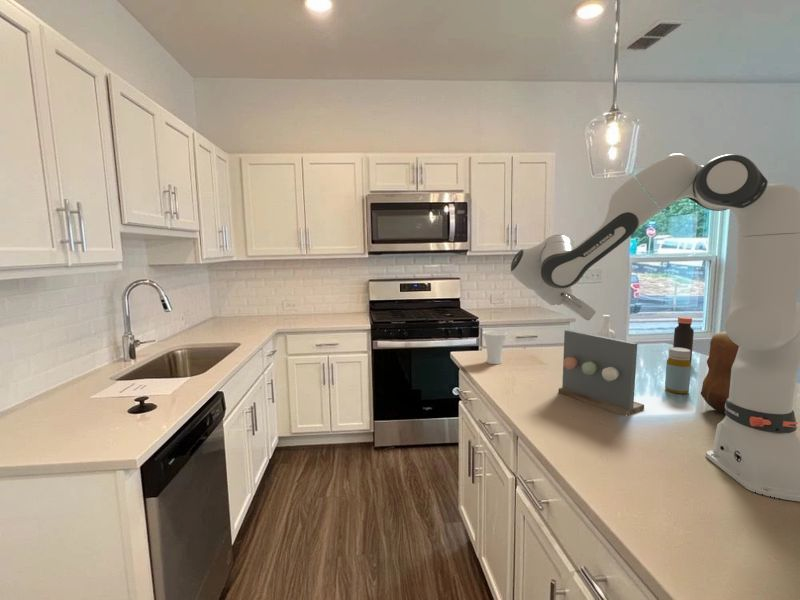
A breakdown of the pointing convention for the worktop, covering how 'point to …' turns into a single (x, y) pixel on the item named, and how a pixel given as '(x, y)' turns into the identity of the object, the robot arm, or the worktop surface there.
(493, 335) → the cup
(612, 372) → the cream button
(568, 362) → the terracotta button
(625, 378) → the button panel
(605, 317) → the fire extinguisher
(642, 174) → the robot arm
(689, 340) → the vinegar
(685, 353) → the bottle
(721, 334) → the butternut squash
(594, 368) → the sage button
